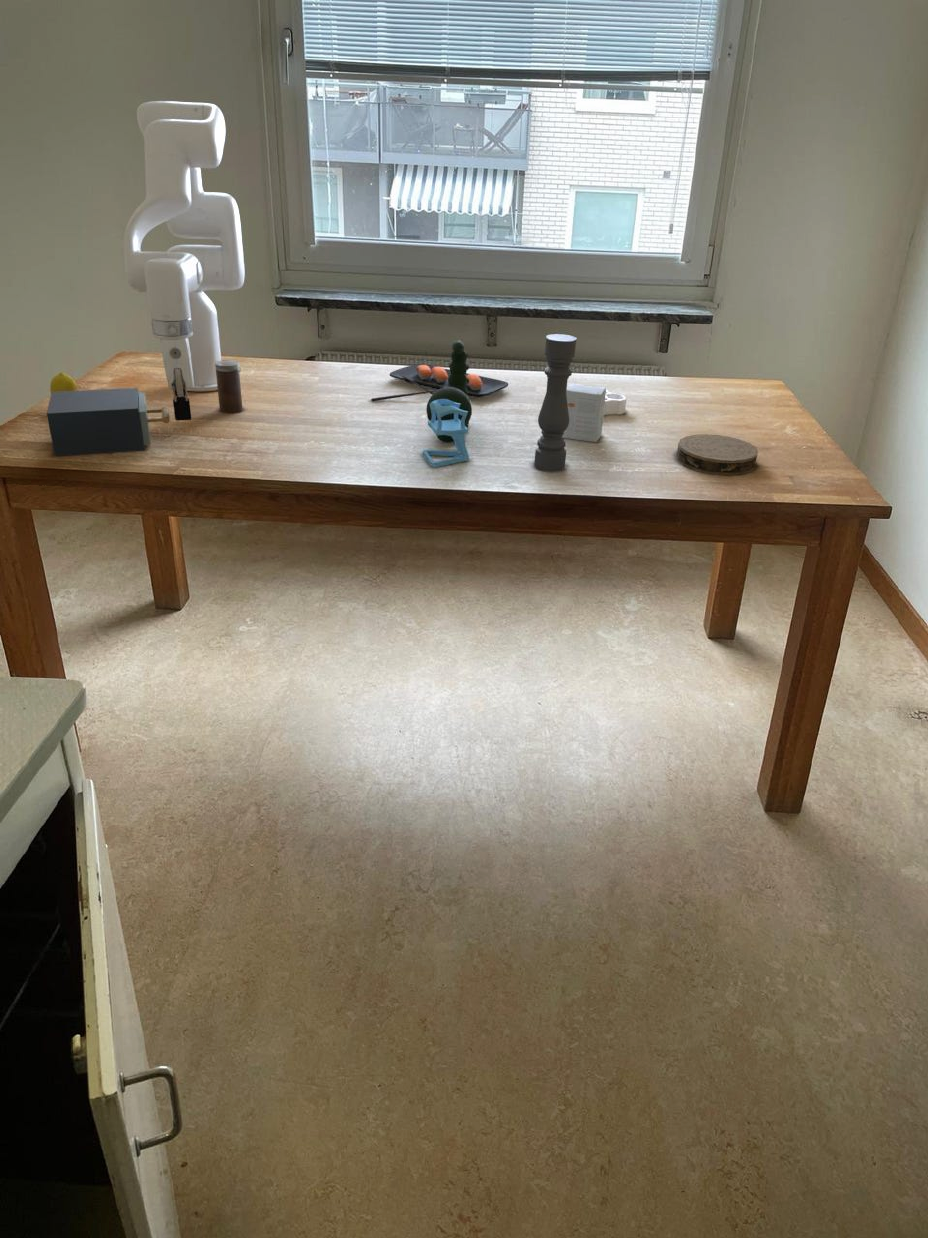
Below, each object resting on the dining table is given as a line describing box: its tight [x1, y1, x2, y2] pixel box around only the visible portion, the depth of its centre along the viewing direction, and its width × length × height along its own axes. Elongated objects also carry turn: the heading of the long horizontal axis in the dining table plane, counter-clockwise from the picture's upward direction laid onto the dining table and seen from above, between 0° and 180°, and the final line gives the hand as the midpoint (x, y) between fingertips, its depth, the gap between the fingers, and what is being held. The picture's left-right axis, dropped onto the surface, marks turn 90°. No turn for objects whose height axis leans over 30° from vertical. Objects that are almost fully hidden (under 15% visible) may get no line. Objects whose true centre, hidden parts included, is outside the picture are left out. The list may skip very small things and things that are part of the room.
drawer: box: [138, 392, 171, 446], centre depth 179 cm, size 20×13×7 cm
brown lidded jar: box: [215, 359, 244, 414], centre depth 198 cm, size 5×5×10 cm
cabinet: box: [46, 387, 145, 457], centre depth 178 cm, size 16×14×8 cm
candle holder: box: [533, 333, 577, 472], centre depth 172 cm, size 6×6×25 cm
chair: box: [422, 399, 470, 468], centre depth 176 cm, size 8×8×12 cm
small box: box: [562, 383, 607, 443], centre depth 192 cm, size 8×6×10 cm
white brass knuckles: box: [603, 388, 627, 417], centre depth 212 cm, size 3×18×15 cm
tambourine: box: [676, 433, 759, 476], centre depth 183 cm, size 16×16×3 cm
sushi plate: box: [370, 363, 509, 402], centre depth 217 cm, size 29×30×4 cm
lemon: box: [49, 372, 79, 394], centre depth 195 cm, size 6×6×8 cm
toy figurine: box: [426, 340, 473, 444], centre depth 189 cm, size 9×19×25 cm
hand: (183, 418), depth 183 cm, fingers closed
